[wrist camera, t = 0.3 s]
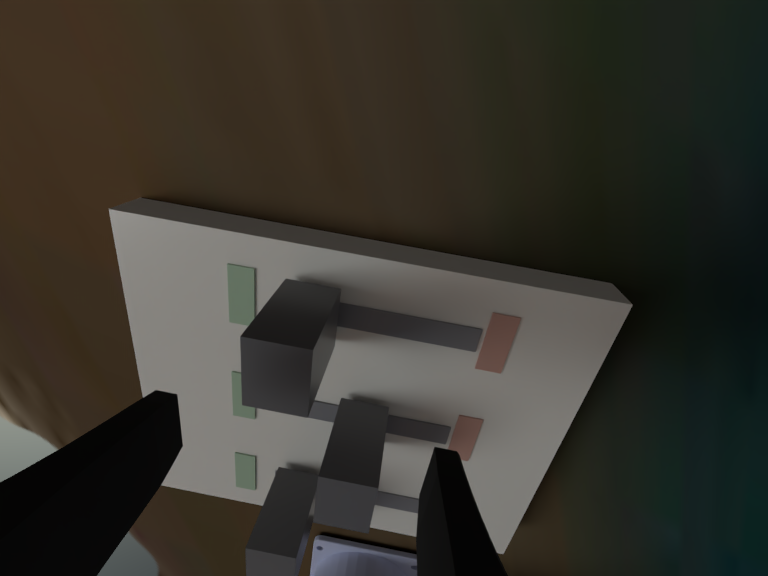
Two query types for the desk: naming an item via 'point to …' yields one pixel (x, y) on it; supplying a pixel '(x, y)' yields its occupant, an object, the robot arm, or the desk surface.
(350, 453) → the block
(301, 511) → the block
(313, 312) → the block
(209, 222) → the breaker panel
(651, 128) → the desk surface
